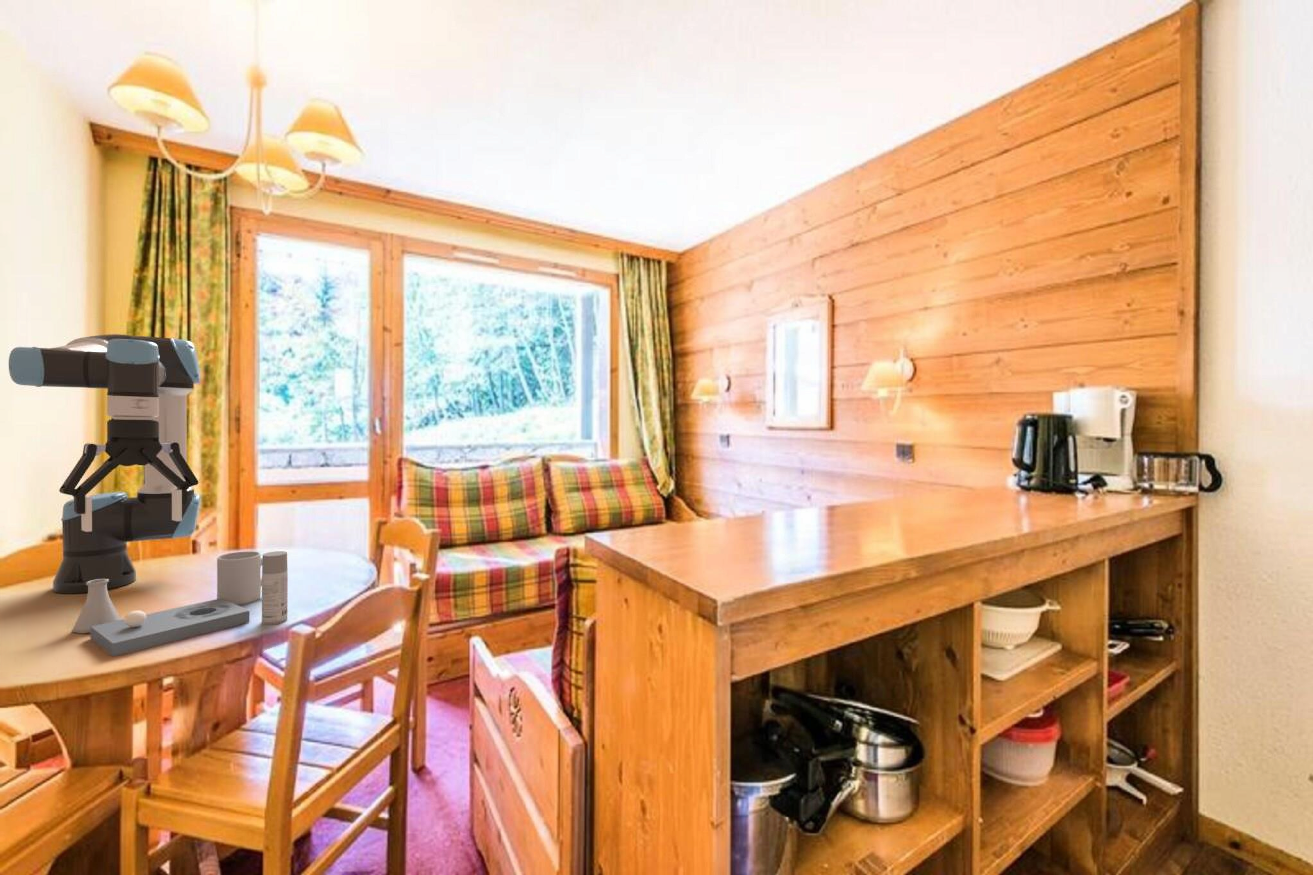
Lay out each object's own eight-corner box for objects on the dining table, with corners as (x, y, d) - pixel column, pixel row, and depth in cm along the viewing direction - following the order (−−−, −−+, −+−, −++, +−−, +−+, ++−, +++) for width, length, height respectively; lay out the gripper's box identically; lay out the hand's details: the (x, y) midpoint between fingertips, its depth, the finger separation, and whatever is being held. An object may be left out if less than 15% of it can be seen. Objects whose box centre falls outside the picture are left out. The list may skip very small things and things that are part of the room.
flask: (95, 621, 120) (94, 575, 120) (131, 621, 121) (131, 575, 121) (62, 634, 113) (61, 586, 113) (101, 634, 114) (100, 586, 113)
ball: (122, 627, 111) (122, 611, 111) (143, 622, 114) (143, 607, 114) (127, 631, 110) (127, 615, 109) (148, 626, 112) (148, 610, 112)
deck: (90, 638, 111) (90, 626, 111) (222, 608, 130) (222, 597, 130) (112, 656, 104) (112, 643, 104) (249, 621, 122) (249, 610, 122)
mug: (220, 608, 130) (220, 561, 130) (213, 599, 136) (213, 554, 135) (281, 597, 139) (281, 553, 138) (272, 589, 145) (272, 547, 144)
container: (280, 615, 127) (281, 549, 126) (291, 619, 124) (292, 553, 124) (257, 621, 123) (257, 554, 122) (268, 626, 120) (268, 557, 120)
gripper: (48, 417, 98) (49, 538, 98) (217, 419, 119) (217, 518, 120) (35, 417, 102) (36, 533, 102) (201, 419, 123) (201, 514, 124)
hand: (134, 525), depth 111 cm, fingers open, 13 cm apart
